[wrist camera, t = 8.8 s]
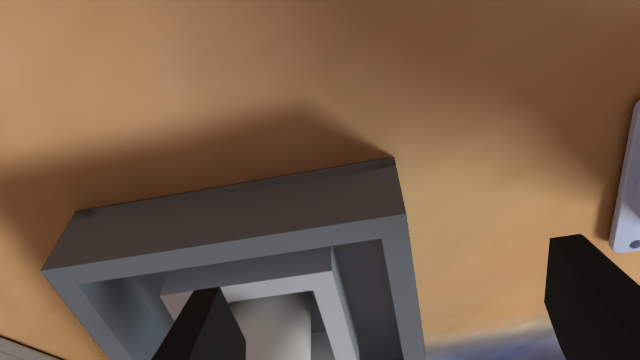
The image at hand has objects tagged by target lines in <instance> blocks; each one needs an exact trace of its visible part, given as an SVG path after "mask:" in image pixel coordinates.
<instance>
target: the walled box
mask: <svg viewBox="0 0 640 360" xmlns="http://www.w3.org/2000/svg"><path fill="white" fill-rule="evenodd" d="M41 273H42V274H43V275H44V276H45V278H46V279H47V280H48V282H49V283H50V284H51V285H52V287H53V288H54V289H55V291H56V292H57V293H58V294H59V296H60V297H61V298H62V299H63V301H64V302H65V303H66V305H67V306H68V307H69V308H70V310H71V311H72V312H73V314H74V315H75V316H76V317H77V319H78V320H79V321H80V322H81V324H82V325H83V326H84V328H85V329H86V330H87V331H88V333H89V334H90V335H91V337H92V338H93V339H94V340H95V342H96V343H97V344H98V345H99V347H100V348H101V349H102V351H103V352H104V353H105V354H106V356H107V357H108V358H109V360H151V359H152V357H153V356H154V354H155V353H156V351H157V350H158V348H159V346H160V345H161V343H162V341H163V340H164V338H165V337H166V335H167V333H168V332H169V330H170V328H171V327H172V325H173V323H174V322H175V320H176V319H177V317H178V315H179V314H180V312H181V310H182V309H183V307H184V305H185V304H186V302H187V300H188V299H189V297H190V295H191V294H192V293H193V291H194V290H200V289H206V288H213V287H220V288H221V290H222V292H223V294H224V296H225V298H226V301H227V303H228V305H229V302H234V301H241V300H248V299H255V298H262V297H269V296H276V295H283V294H290V293H297V292H304V291H308V292H309V294H310V297H311V360H426V353H425V346H424V338H423V331H422V324H421V317H420V310H419V302H418V295H417V288H416V281H415V274H414V266H413V259H412V252H411V245H410V238H409V230H408V223H407V216H406V210H405V206H404V201H403V196H402V192H401V187H400V182H399V178H398V173H397V168H396V164H395V159H394V157H392V158H386V159H381V160H375V161H369V162H363V163H357V164H351V165H345V166H340V167H334V168H328V169H322V170H316V171H310V172H304V173H299V174H293V175H287V176H281V177H275V178H269V179H263V180H258V181H252V182H246V183H240V184H234V185H228V186H222V187H217V188H211V189H205V190H199V191H193V192H187V193H181V194H176V195H170V196H164V197H158V198H152V199H146V200H140V201H135V202H129V203H123V204H117V205H111V206H105V207H99V208H94V209H88V210H82V211H76V212H75V213H74V215H73V217H72V218H71V220H70V222H69V223H68V225H67V227H66V229H65V230H64V232H63V234H62V235H61V237H60V239H59V240H58V242H57V244H56V245H55V247H54V249H53V250H52V252H51V254H50V255H49V257H48V259H47V260H46V262H45V264H44V266H43V267H42V269H41Z"/></svg>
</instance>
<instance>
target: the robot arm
mask: <svg viewBox="0 0 640 360" xmlns="http://www.w3.org/2000/svg"><path fill="white" fill-rule="evenodd" d="M609 246H610V248H611V249H612V250H613V251H614V252H616V253H627V252H634V251H640V100H639V101H638V102H637V103H636V104H635V107H634V109H633V114H632V120H631V125H630V131H629V136H628V141H627V147H626V152H625V157H624V163H623V168H622V173H621V179H620V184H619V189H618V195H617V200H616V205H615V211H614V216H613V222H612V227H611V232H610V238H609ZM544 302H545V305H546V308H547V311H548V314H549V317H550V320H551V323H552V326H553V328H554V331H555V334H556V337H557V339H558V342H559V345H560V347H561V349H562V352H563V354H564V356H565V358H566V360H640V286H639V285H638V284H637V283H636V282H635V281H634V280H633V279H631V278H630V277H629V276H628V275H627V274H626V273H624V272H623V271H622V270H621V269H620V268H619V267H618V266H617V265H615V264H614V263H613V262H612V261H611V260H610V259H609V258H608V257H606V256H605V255H604V254H603V253H602V252H601V251H600V250H599V249H598V248H597V247H595V246H594V245H593V244H592V243H591V242H590V241H589V240H588V239H587V238H586V237H584V236H583V235H581V234H576V235H570V236H563V237H556V238H550V243H549V254H548V266H547V277H546V288H545V299H544ZM151 360H246V340H245V338H244V335H243V333H242V331H241V329H240V327H239V325H238V323H237V321H236V319H235V317H234V315H233V313H232V311H231V309H230V307H229V305H228V303H227V301H226V298H225V296H224V294H223V292H222V290H221V288H220V287H213V288H206V289H200V290H194V291H193V293H192V294H191V295H190V297H189V299H188V300H187V302H186V304H185V305H184V307H183V309H182V310H181V312H180V314H179V315H178V317H177V319H176V320H175V322H174V323H173V325H172V327H171V328H170V330H169V332H168V333H167V335H166V337H165V338H164V340H163V341H162V343H161V345H160V346H159V348H158V350H157V351H156V353H155V354H154V356H153V357H152V359H151Z"/></svg>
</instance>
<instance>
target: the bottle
mask: <svg viewBox="0 0 640 360" xmlns="http://www.w3.org/2000/svg"><path fill="white" fill-rule="evenodd" d="M229 307H230V309H231V311H232V313H233V315H234V317H235V319H236V321H237V323H238V325H239V327H240V329H241V331H242V333H243V335H244V338H245V340H246V360H311V297H310V294H309V292H308V291H304V292H297V293H290V294H283V295H276V296H269V297H262V298H255V299H248V300H241V301H234V302H229Z"/></svg>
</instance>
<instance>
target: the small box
mask: <svg viewBox="0 0 640 360" xmlns="http://www.w3.org/2000/svg"><path fill="white" fill-rule="evenodd" d="M0 360H60V359H57V358H54V357H52V356H49V355H46V354H44V353H41V352H38V351H36V350H33V349H30V348H27V347H25V346H22V345H20V344H17V343H14V342H12V341H9V340H6V339H4V338H1V337H0Z"/></svg>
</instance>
